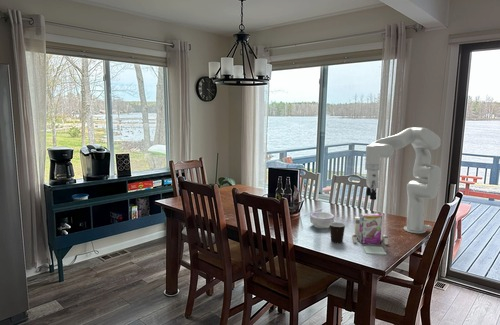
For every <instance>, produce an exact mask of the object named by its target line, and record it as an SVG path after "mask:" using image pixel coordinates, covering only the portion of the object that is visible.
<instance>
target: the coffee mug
mask: <svg viewBox="0 0 500 325" xmlns="http://www.w3.org/2000/svg"><path fill="white" fill-rule="evenodd" d="M345 229H346V224H345V223H344V222H339V221H337V222H335V221H334V222H333V223H330V227H329V233H330V241H331V242H332V243H333V244H343V241H344V236H345V235H344V234H345Z"/></svg>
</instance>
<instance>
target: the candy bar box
mask: <svg viewBox="0 0 500 325" xmlns="http://www.w3.org/2000/svg"><path fill="white" fill-rule="evenodd" d="M359 217H360V221H359V238H358V242H359V243H360V244H362V245H363V244H366V245H367V244H371V245H372V244H381V240H382V239H381V238H382V220H383V216H382V215H381V214H379V213H359Z"/></svg>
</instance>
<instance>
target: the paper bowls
mask: <svg viewBox="0 0 500 325" xmlns="http://www.w3.org/2000/svg"><path fill="white" fill-rule="evenodd" d="M309 221H310V222H309V223H311V224H312V225H313V226H314V227H315V228H316V229H324V230H325V229H330V223H333V222H335V216H334V214H333V213H330V212H326V211H315V212H312V213H311V212H310V217H309Z"/></svg>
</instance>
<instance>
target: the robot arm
mask: <svg viewBox="0 0 500 325" xmlns="http://www.w3.org/2000/svg"><path fill="white" fill-rule="evenodd" d="M441 142H442V141H441V138H440V136H439V135H438V134H436V132H433V131H432V130H430V129H429V128H426V127H423V126H422V127H417V126H416V127H415V126H412V127H408V128H405V129H404V130H402V131H400V132H399V133H396V134H394V135H389V136H387V137H382V138H380V139H377V140H375V141H374V142H372V143H370V144H368V145H366V147H365V167H364V170H366V180H365V182H366V196H369V200H372V201H375V200H377V189H378V188H379V182H380V181H379V176H380V175H379V171H380V169H381V158H382V159H383V158H385V159H387V158H388V159H389V158H390V157H392V156H393V155H394V153H395V150H398V149H403V148H405V147H406V146H408V145H410V144H411V146H412V147H413V149H414V151H415V160H414V165H413V169H412V175H413V177H414V178H415V180H409V182H408V183H407V184H406V194H407V207H406V225H404V226H403V231H405V232H408V233H412V234H425V233H426V230H427V229H428V230H429V229H430V230H432V229H433V228H432V225H428V224H425V223H424V222H425V221H424V220H425V219H424V218H425V200H424V199H429V200H433V199H435V198H436V197H437V195H438V193H439V190H440V189H439V188H440V184H441V179H442V169H441V167H440V166H438V165H435V164H431V162H432V155H431V154H432V153H431V151H430V150H437V149H438V148H440V146H441ZM417 179H418V180H417ZM421 180H424V181H421Z"/></svg>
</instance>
